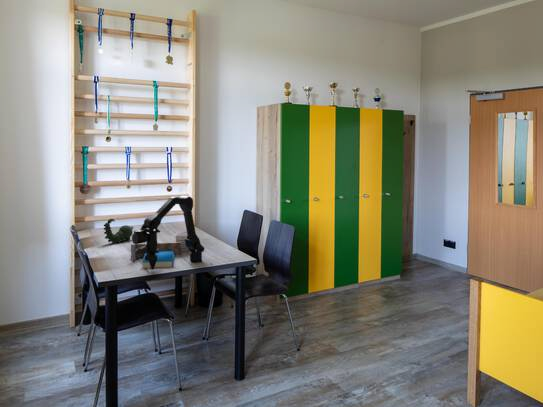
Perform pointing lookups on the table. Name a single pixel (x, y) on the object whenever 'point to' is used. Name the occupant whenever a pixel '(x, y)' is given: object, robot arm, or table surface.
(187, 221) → the robot arm
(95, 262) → the table surface
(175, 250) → the shelf wall
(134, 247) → the bookend
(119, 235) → the toy figurine
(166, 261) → the book
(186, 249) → the can
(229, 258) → the table surface
